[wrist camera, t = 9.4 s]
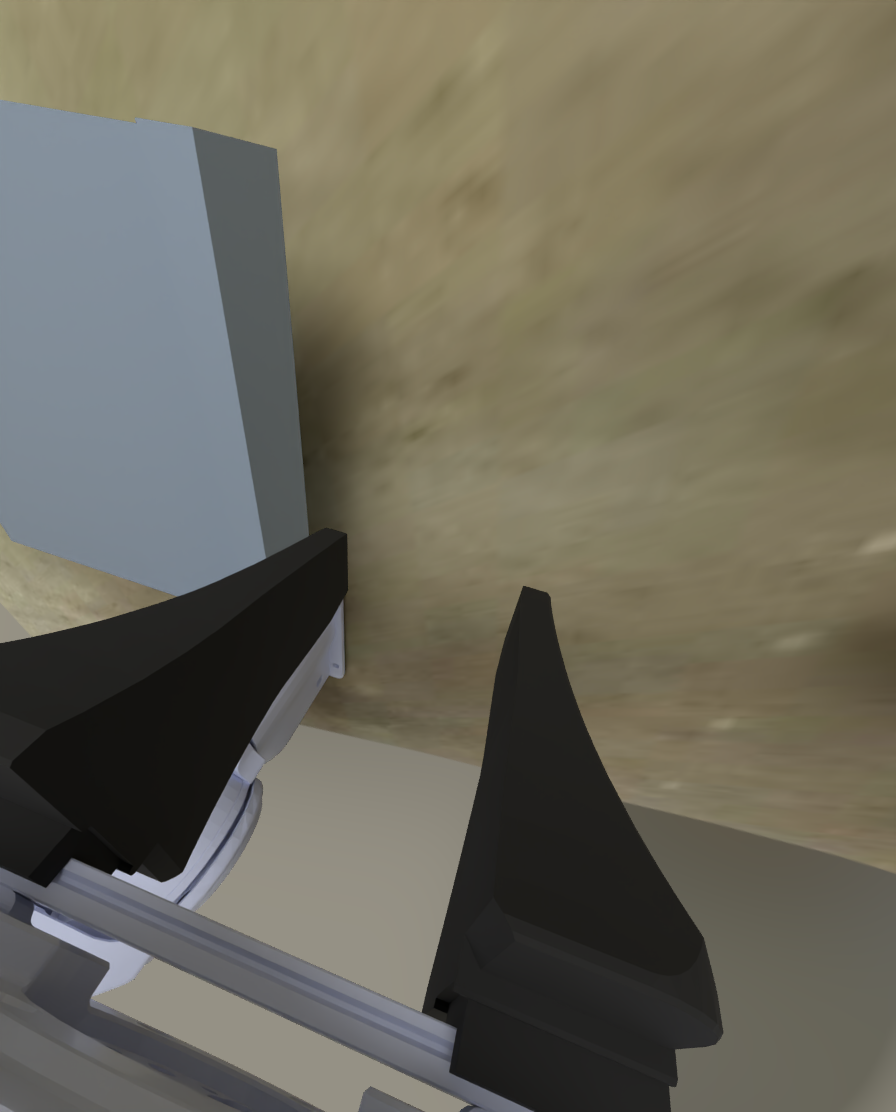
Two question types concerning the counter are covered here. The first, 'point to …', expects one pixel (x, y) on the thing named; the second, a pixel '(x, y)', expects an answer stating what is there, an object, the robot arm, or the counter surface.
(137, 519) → the lid
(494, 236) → the counter surface
